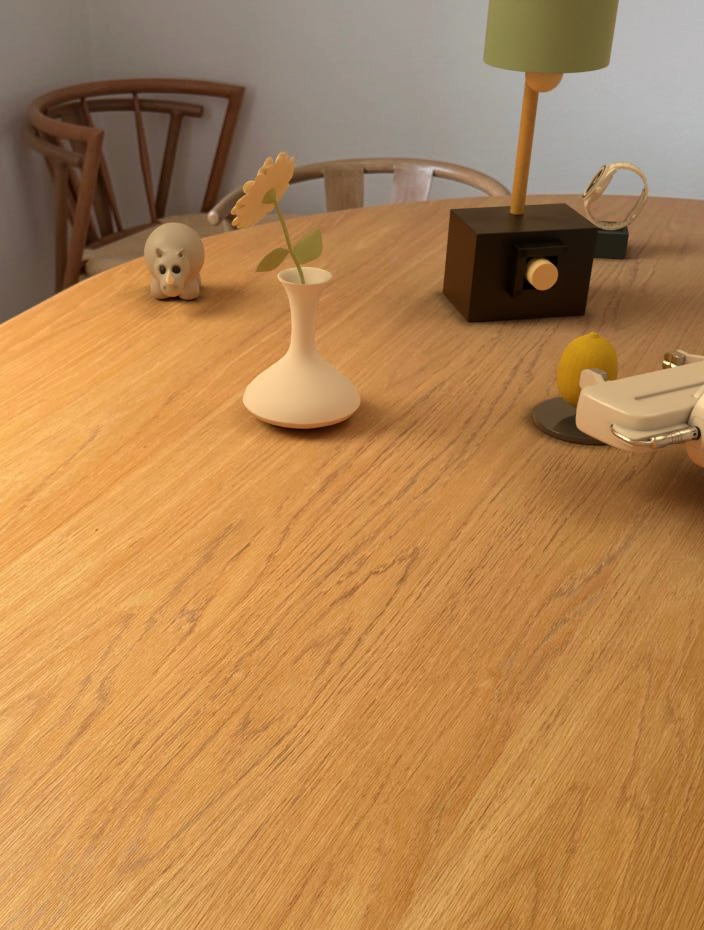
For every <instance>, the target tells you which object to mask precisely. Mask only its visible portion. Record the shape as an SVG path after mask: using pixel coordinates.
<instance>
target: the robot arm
mask: <svg viewBox="0 0 704 930" xmlns="http://www.w3.org/2000/svg"><path fill="white" fill-rule="evenodd" d="M661 367H662V368H661V369H659V370H655V371H651V372H646V373H645V372H644V373H641V374H637V375H632V376H627V377H622V378H617V380H613V381H610V380H609V381H606V379H607V372H605V371H603V370H600V369H599V368H598V367H596V368H591V369H585V370H582V372H581V375H580V382H579V385H580V388H581V389H582V390H581V392H580V396H579V400H578V404H577V411H576V426H577V428H578V429H579V430H580V431H582V432H584V433H585V434H587V435H589V436H591V437H593V438H595V439H597V440H600V441H602V442H604V443H606V444H605V445H609V446H611V447H613V448H616V449H619V450H620V451H624V452H628V453H632V454H645V453H653V452H655V451H660V450H664V449H669V448H672V447H677V446H680V445H684V446H685V451H686V453H687V456H688V458H689V459H690V461H691V462H693V463H694V465H697V466H698V467H700V468H702V469H704V355H699V354H694V353H693V354H691V353H689V352H687V351H684V350H682V349H676V350H671V351H666V352H665V353H664V354H663V361H662V364H661ZM605 381H606V382H605Z"/></svg>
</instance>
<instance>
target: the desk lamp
mask: <svg viewBox="0 0 704 930" xmlns="http://www.w3.org/2000/svg"><path fill="white" fill-rule="evenodd" d="M619 2H620V0H488V6H487V7H488V9H487V18H486V29H485V37H484V38H485V39H484V46H483V58H482V61H483V63H484V64H486V65H488V66H490V67H493V68H496V69H501V70H507V71H513V72H521V73H524V78H525V80H524V86H523V87H524V89H523V95H522V103H521V104H522V106H521V112H520V113H521V114H520V122H519V130H518V140H517V146H516V147H517V148H516V156H515V165H514V173H513V181H512V190H511V198H510V199H511V200H510V205H503V206H500V205H499V206H485V207H484V206H483V207H466V208H465V207H463V208H450V209H449V219H448V231H447V239H446V241H447V242H446V251H445V261H444V262H445V263H444V273H443V283H442V284H443V286H442V295H444V297H445V298H446V299H447V300H448V301H449V303H451V304H452V306H453V307H454V308H455V309H456V310H457V312H458V313H459V314H460V315H461V317H463V318H464V319H465V321H466V322H467V323H472V322H473V323H475V322H478V323H479V322H492V321H508V320H525V319H540V318H555V317H556V318H558V317H572V316H585V314H586V311H587V303H588V297H589V291H590V284H591V279H592V278H591V277H592V272H593V264H594V259H595V257H594V253H595V247H596V240H597V234H598V227H597V226H596V225H594V224H593V223H592V222H591V221H590V220H589V219H588V218H586V217H585V216H583V214H581V213H580V212H578V211H577V210H575V208H573V207H571V205H569V204H567V203H566V202H562V203H559V202H558V203H541V204H526V200H527V192H528V184H529V176H530V169H531V168H530V167H531V159H532V153H533V152H532V151H533V143H534V135H535V127H536V118H537V111H538V103H539V95H540V93H549V92H552V91H553V90H554V89H556V88H557V87H558V86H559V85H560V84H561V82H562V80H563V78H564V74H577V73H578V74H579V73H587V72H595V71H598V70H602V69H605V68H607V67H608V66H609V65H610V62H611V56H612V48H613V42H614V37H615V36H614V35H615V28H616V23H617V16H618V10H619ZM535 257H544V258H546V259H547V260H548V261H550V262H551V263H552V264H553V265H554V266H555V267H556V268H557V271H558V278H557V281H556V282H555V284H554V285H553V286H552V287H551V288H549V289H547V290H538V289H536V288H535V287H534V286H533V285H532V284H531V283H530V282H528V281H527V280H526V278H525V276H524V274H525V267H526V264H527V263H528V262H529V261H530V260H531V259H532V258H535Z"/></svg>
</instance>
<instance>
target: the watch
mask: <svg viewBox="0 0 704 930" xmlns="http://www.w3.org/2000/svg"><path fill="white" fill-rule="evenodd" d="M619 170H627V171H631V172H633V173H635V174H636V175H637V176H638V177H639V178H640V179H641V180H642V182H643V184H644V186H643V187H644V188H642V190H641V194H640V195H639V197H638V199H637V201H636V203H635V204H634V206H633V207H632V208H631V209H630V210H629V212H628V213H627V214H626V215H625V217H624V218H623V219H622V220H619V221H611V220H610V221H609V220H608V221H607V220H599V219H597V218H596V217H595V216H594V215H593V214H592V212H591V210H590V208H591V205H592V204H593V203H595V202H596V201H597V200H598V199H599V198H600V197H601V196H602V194H604V192H605V190H606V189H607V188H608V186H609V185H610V183H611V181H612V179H613V177H614V175H615V174H616V173H617V172H618V171H619ZM581 199H582V200H583V201H584V202H583V203H584V204H583V205H584V212H585V214H586V217H587V219H588V220H589V221H590V222H592V223H593V224H594V225H596V226H597V227H598V234H597V240H596V247H595V253H594V258H597V259H600V258H601V259H614V260H615V259H618V260H625V259H626V255H627V249H628V242H629V238H630V233H629V232H630V231H629V227H628V226H631V225H632V224H633V222H634V221H635V220H636V219H637V218H638V217H639V215H641V213H642V211H643V210H644V208H645V206H646V204H647V203H648V199H649V185H648V182H647V177H646V176H645V174H644V172H643V171H642V170H641V168H639V167H638V166H637V165H635V164H633V163H630V162H625V161H616V162H612V163H610V164H609V165H608V164H607V163H606V164H603V165H602V166H601V167H600V168H599V169H598V170H597V172H596V173H595V174H594V175H593V177H592V178H591V179H590V181H589V183H588V184H587V186H586V187H585V188H584V190H583V193H582V196H581Z"/></svg>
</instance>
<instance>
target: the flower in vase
mask: <svg viewBox="0 0 704 930" xmlns="http://www.w3.org/2000/svg"><path fill="white" fill-rule="evenodd" d="M295 168H296V163H295V156H292V157H290V156H289V154H288V153H287V151H282V152H279V153H278V155H277V157H276V158H275V161H274V159H273V157H272V156H269V157H267V158H266V159H265V161H264V163H263V165H262V166H261V167H260V168H259V169H258V171H257V173H256V177H254V180H248V181H246V182H245V183H244V185H243V186H242V192H243V193H244V195H243V196H242V197H240V198H239V199H238V200H237V201H236V203H235V205H234V206H233V208H232V209H231V210H230V214H231V215H232V216H234V215H236V217H235V218H234V219H233V220H232V222H231V226H233V227H236V228H237V229H242V230H243V231H244V230H246V229H248V228H252V227H255V225H256V224H257V223H259V222H261V221H262V220H263V219H264V218H265V217H266V216H267V214H269V213H271V212H273V210H274V209H275V211H276V213H277V216H278V219H279V221H280V224H281V227H282V230H283V233H284V237H285V242H286V247H287V248H285V247H276V248H275V249H273V250H271V251H270V252H268V253H267V254H266V255H264V257H263V258H262V259H261V260H260V261H259V263H258V265H257V266H256V268H255V271H254V273H255V274H256V273H267V272H268V273H269V272H272V271H274V270H276V269H277V268H278V267H279V266H280V265H281V264H282V263H283V261H285V259H286V258H287V257H288V255H289V254H290V256H291V258H292V261H293V263H294V265H295V267H289V268H286V269H283V270H281V271H279V272H278V273H277V279H278V281H279V282H280V284H281V285H282V287H283V289H284V290H285V293H286V296H287V298H288V302H289V308H290V318H291V319H290V321H291V334H290V335H291V336H290V343H289V347H288V349H287V352H286V353H285V354H284V355H283V356H282V357H281V358H280V359H278V360H277V361H276V362H275V363H273V364H271V366H269V367H267V368H266V369H265V370H263V371H262V372H261V373H259V374H258V375H257V376H256V377H254V378H253V379H252V381H251V382H250V383H249V384H248V385H247V386H246V388H245V391H244V393H243V397H242V402H243V405H244V406H245V408H246V409H247V411H248V413H249V414H251V416H253V417H254V418H256V419H257V420H259V421H261V422H264V423H267V424H269V425H273V426H278V427H281V428H288V429H289V428H290V429H300V430H301V429H302V430H303V429H305V430H306V429H307V430H309V429H316V428H317V429H318V428H322V427H328V426H333V425H336V424H339V423H342V422H343V421H346V420H347V419H349V418H350V417H352V416H353V415H354V414H355V413H356V411H357V410H358V409H359V407H360V405H361V400H362V399H361V396H360V393H359V390H358V388H357V387H356V385H355V384H354V383H353V382H352V381H351V379H350V378H348V376H346V375H345V374H343V373H342V372H341V370H339V369H338V368H336V367H335V366H333V365H332V364H331V363H329V362H328V361H327V360H326V359H324V358H323V356H321V354H320V353H319V351H318V349H317V348H318V347H317V343H316V325H317V323H316V322H317V315H318V308H319V304H320V300H321V297H322V296H323V292H324V291H325V289H326V287H327V286H328V285H329V283H330V282H331V281H332V279H333V274H332V272H330V271H328V270H326V269H323V268H319V267H315V266H314V267H313V266H301V265H306V264H308V263H310V262H313V261H314V260H317V259H318V258H320V257H321V256H322V253H323V236H322V231H321V228H320V227H318V228H316V229H315V230H313V231H312V232H311V233H308V235H306V236H305V237H303V238H301V239H300V240H299V241H297V242H296V243H295V244H294V245H293V246H292V244H291V239H290V236H289V235H290V234H289V231H288V227H287V225H286V222H285V219H284V215H283V214H282V211H281V209H280V205H279V202H280V201H281V199H282V198H283V196H284V195H285V193H286V192H287V191H288V189H289V187H290V183H289V182H290V181H291V179H292V178H293V176H294V170H295Z"/></svg>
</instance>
